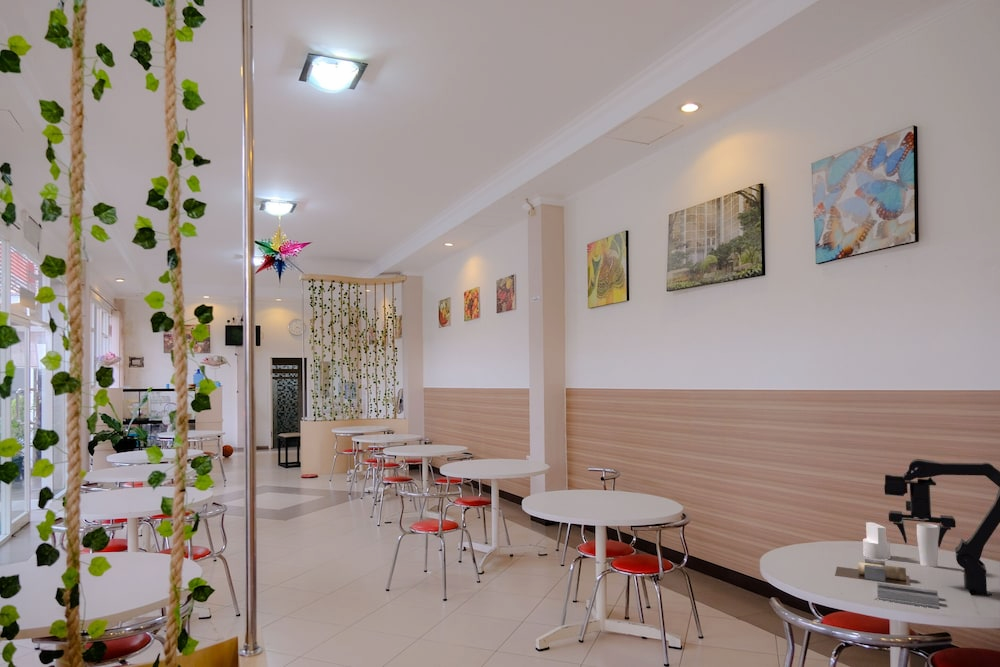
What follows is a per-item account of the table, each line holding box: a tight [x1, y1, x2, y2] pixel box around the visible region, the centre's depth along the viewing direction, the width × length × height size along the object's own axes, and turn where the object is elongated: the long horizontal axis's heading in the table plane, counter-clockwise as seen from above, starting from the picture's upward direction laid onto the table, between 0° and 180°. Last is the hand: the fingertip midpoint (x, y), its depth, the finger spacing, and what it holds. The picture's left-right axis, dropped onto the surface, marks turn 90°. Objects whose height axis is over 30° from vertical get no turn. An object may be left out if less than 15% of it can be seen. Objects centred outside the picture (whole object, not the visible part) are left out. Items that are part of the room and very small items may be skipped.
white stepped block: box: [862, 521, 892, 561], centre depth 254 cm, size 9×9×12 cm
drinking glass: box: [916, 522, 939, 568], centre depth 240 cm, size 7×7×15 cm
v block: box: [876, 582, 940, 610], centre depth 206 cm, size 16×9×3 cm, turn 60°
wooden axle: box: [857, 561, 907, 580], centre depth 226 cm, size 14×4×4 cm, turn 60°
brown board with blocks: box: [834, 558, 911, 587], centre depth 227 cm, size 22×12×5 cm, turn 60°
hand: (922, 545), depth 221 cm, fingers open, 9 cm apart
